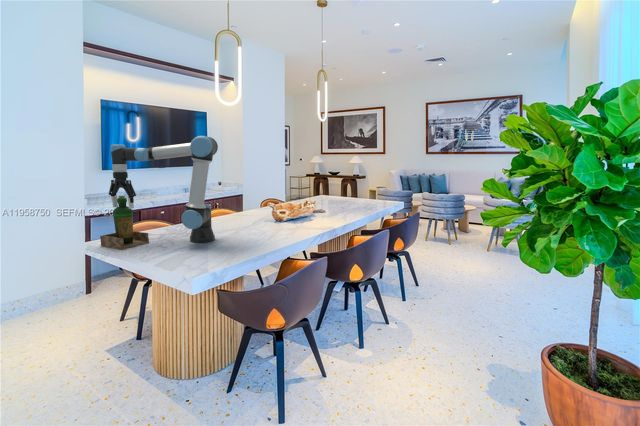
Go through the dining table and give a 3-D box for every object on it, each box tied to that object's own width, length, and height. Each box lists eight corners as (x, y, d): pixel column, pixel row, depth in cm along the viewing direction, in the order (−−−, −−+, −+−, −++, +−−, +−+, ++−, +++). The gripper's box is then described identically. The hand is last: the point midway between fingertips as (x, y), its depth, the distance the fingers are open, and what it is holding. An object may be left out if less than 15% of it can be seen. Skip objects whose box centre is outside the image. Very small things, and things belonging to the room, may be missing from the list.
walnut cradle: (148, 243, 222) (148, 233, 221) (122, 249, 206) (121, 239, 205) (128, 239, 230) (127, 230, 229) (101, 246, 213) (100, 235, 212)
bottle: (126, 245, 211) (123, 197, 207) (110, 244, 213) (106, 196, 209) (139, 241, 222) (136, 195, 217) (123, 240, 224) (120, 194, 219)
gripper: (140, 171, 209) (143, 208, 213) (111, 170, 219) (114, 205, 223) (129, 172, 202) (132, 209, 206) (99, 171, 213) (103, 207, 216)
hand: (123, 207), depth 214 cm, fingers open, 13 cm apart
